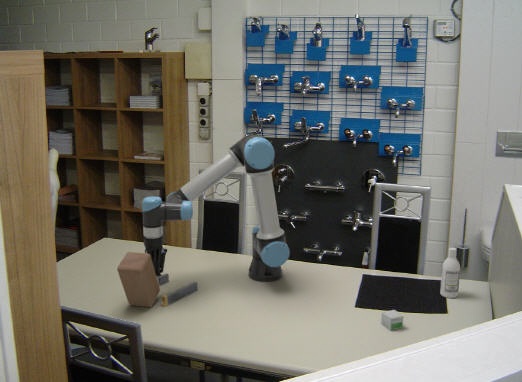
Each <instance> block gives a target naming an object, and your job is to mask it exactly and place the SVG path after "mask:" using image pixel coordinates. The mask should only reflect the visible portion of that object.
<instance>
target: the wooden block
mask: <svg viewBox="0 0 522 382" xmlns="http://www.w3.org/2000/svg"><path fill="white" fill-rule="evenodd" d="M117 273H118V276H119V279H120V282H121V285H122V288H123V292H124V294H125V297H126V300H127V302H128V304H129V305H130V306H135V307H136V306H138V307H144V308H145V307H146V308H152V307H153V304H154V303H155V300H156V299H157V297H158V296H159V293H160V292H161V291H160V290H161V287H160V286H159V284H158V280H157V277H156V273H155V270H154V266H153V263H152V259H151V256H150V254H147V253H145V252H135V251H127V252H126V253H125V255H124V257H123V258H122V260H121V261H120V263H119V265H118V266H117Z"/></svg>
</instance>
